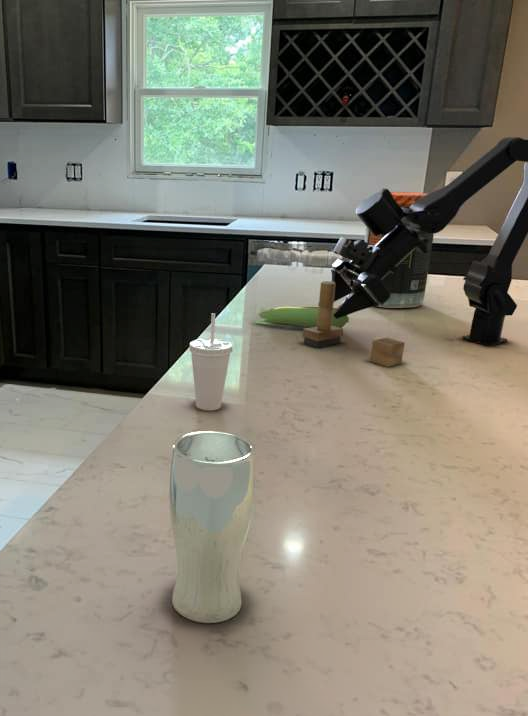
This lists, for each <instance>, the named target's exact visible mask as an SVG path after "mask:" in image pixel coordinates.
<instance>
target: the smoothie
mask: <svg viewBox="0 0 528 716" xmlns="http://www.w3.org/2000/svg"><path fill="white" fill-rule="evenodd" d="M215 328H216V313H215V312H214V313H213V312H212V313H211V317H210V338H198V339H194V340H192V341H190V342H189V348H188V351H189V352H190V353H191V364H192V373H193V374H192V375H193V385H194V397H195V398H194V399H195V405H196V406H195V407H196V408H197V409H198V410H203V411H216V410H219V409H221V407H222V401H223V396H224V390H225V385H226V379H227V373H228V367H229V363H230V357H231V354H232V353H233V351H234V350H233V345H234V344H233V343H232V342H231V341H228V340H225V339H221V338H220V339H219V338H215V333H216V332H215Z"/></svg>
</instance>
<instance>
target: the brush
mask: <svg viewBox="0 0 528 716" xmlns="http://www.w3.org/2000/svg"><path fill="white" fill-rule="evenodd" d="M335 286H336V283H335V282H331V281H328V280H327V281H326V280H325V281H321V282H320V288H319V297H318V303H319V305H318V306H317V307H318V317H317V326H316V327H311V328H303V332H302V337H303V345H306V346H310V347H313V348H316V349H319V348H323V347H328V346H334V345H339V344H341V339H342V337H343V336H344V335H343V334H344V328H343V327H342V328H339V327H336V326H332V325H331V322H332V313H333V308H334V304H335V302H334V295H335Z"/></svg>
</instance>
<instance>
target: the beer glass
mask: <svg viewBox="0 0 528 716" xmlns="http://www.w3.org/2000/svg"><path fill="white" fill-rule="evenodd" d="M255 452H256V447H255V445H254V443H252V441H250V440H249V439H247V438H246V437H244V436H241V435H239V434H235V433H231V432H225V431H217V430H216V431H215V430H206V431H203V430H202V431H195V432H190V433H186V434H184V435H181V436H180V437H178V438H177V439H175V441H174V442H173V445H172V457H171V465H170V473H169V474H170V475H169V491H168V492H169V493H168V494H169V495H168V496H169V514H170V521H171V522H170V523H171V528H172V535H173V540H174V546H175V552H176V558H177V573H176V579H175V584H174V587H173V591H172V597H171V602H172V606H173V609H174V610H175V611H176V612H177V613H178V614H179V615H180V616H182V617H183V618H185V619H187V620H189V621H192V622H196V623H201V624H218V623H222V622H226V621H229V620H230V619H232V618H233V617H235V616H236V615H238V613H239V612H240V610H241V608H242V593H241V585H240V565H241V561H242V560H241V559H242V555H243V552H244V548H245V544H246V541H247V537H248V534H249V530H250V527H251V521H252V518H253V517H252V516H253V512H254V505H255V504H254V502H255V489H256V488H255V487H256V467H255V466H256V465H255V463H256V462H255V459H256V458H255Z"/></svg>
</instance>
